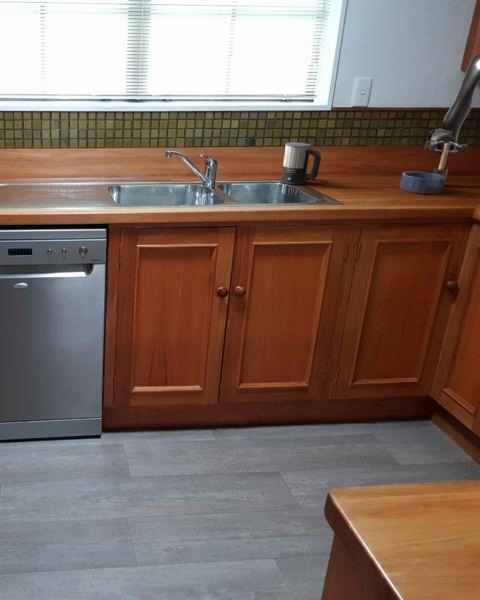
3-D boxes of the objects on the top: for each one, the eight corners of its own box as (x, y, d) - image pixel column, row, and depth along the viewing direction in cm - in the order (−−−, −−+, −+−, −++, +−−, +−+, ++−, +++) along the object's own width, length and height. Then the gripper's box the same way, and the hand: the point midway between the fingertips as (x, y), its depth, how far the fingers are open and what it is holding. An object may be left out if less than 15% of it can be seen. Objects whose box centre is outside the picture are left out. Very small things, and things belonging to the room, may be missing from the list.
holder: (443, 186, 237) (447, 168, 235) (443, 188, 233) (448, 170, 231) (429, 184, 239) (434, 167, 236) (430, 187, 235) (434, 169, 233)
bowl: (440, 190, 231) (444, 174, 229) (442, 197, 219) (446, 180, 217) (399, 185, 237) (402, 170, 234) (398, 192, 225) (402, 176, 223)
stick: (439, 185, 237) (450, 143, 230) (439, 185, 235) (450, 143, 229) (434, 184, 237) (444, 142, 231) (434, 185, 236) (445, 143, 229)
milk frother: (279, 183, 235) (285, 144, 229) (280, 176, 249) (285, 139, 243) (317, 187, 231) (325, 147, 225) (316, 179, 245) (323, 141, 239)
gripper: (426, 132, 244) (427, 137, 231) (467, 135, 238) (471, 140, 225) (422, 151, 247) (423, 157, 234) (462, 155, 241) (465, 161, 228)
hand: (446, 149), depth 229 cm, fingers open, 8 cm apart
